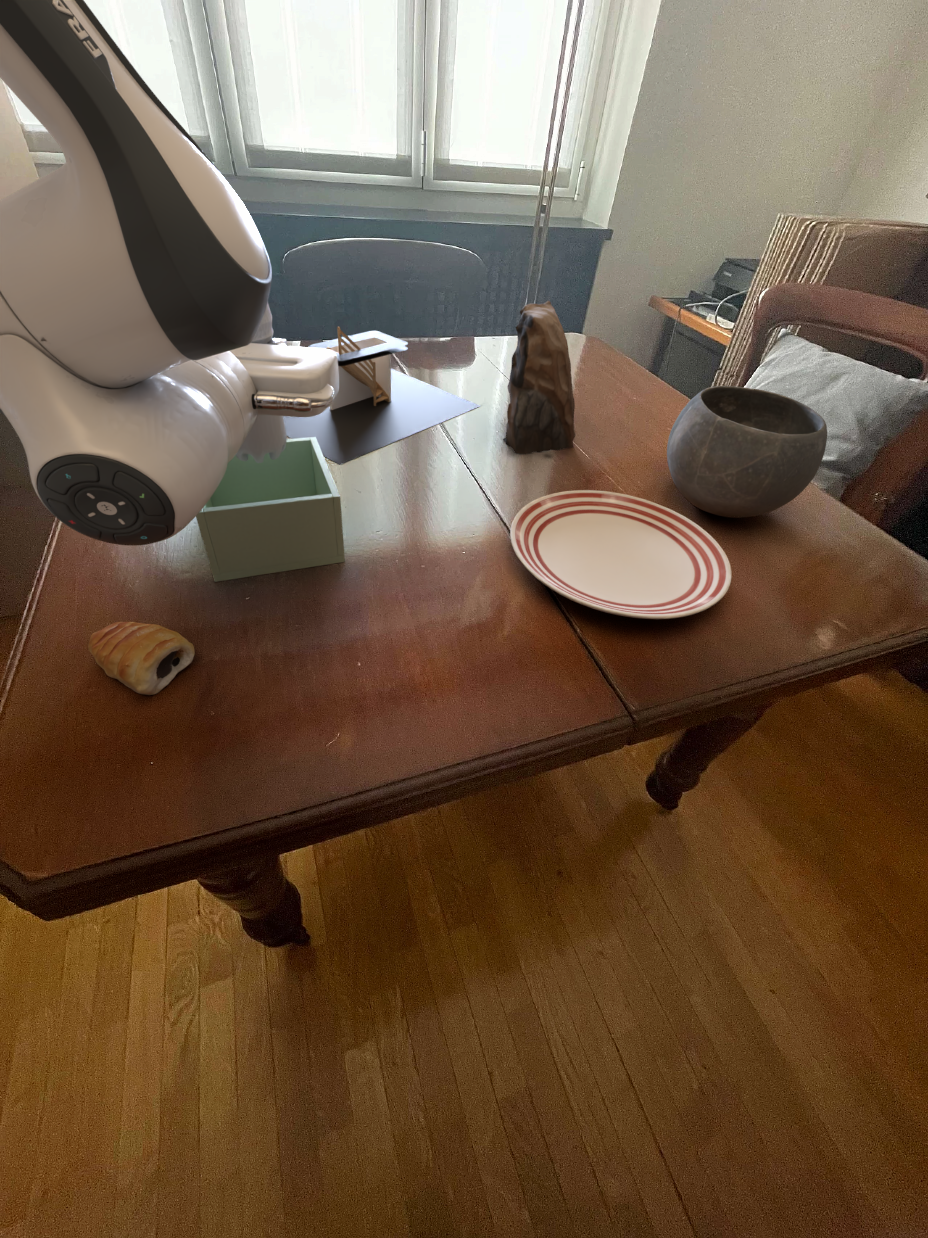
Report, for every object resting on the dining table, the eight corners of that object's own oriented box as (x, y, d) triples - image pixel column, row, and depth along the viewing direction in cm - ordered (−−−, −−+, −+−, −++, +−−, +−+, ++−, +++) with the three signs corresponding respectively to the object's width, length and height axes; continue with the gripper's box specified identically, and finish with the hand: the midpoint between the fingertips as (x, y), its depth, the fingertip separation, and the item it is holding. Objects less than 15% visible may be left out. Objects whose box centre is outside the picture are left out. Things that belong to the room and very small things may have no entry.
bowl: (774, 486, 90) (824, 395, 80) (795, 555, 76) (859, 455, 65) (651, 460, 93) (684, 369, 83) (648, 522, 78) (687, 421, 68)
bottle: (226, 441, 61) (178, 223, 47) (288, 438, 63) (259, 227, 49) (226, 470, 57) (173, 238, 43) (293, 466, 58) (262, 242, 45)
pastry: (73, 665, 51) (56, 636, 48) (133, 622, 55) (121, 594, 53) (151, 704, 48) (137, 676, 46) (207, 655, 53) (197, 627, 50)
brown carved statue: (512, 457, 89) (534, 323, 75) (478, 424, 97) (492, 298, 83) (576, 448, 94) (607, 320, 80) (538, 417, 102) (560, 296, 88)
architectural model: (339, 464, 82) (332, 366, 72) (229, 404, 94) (210, 312, 84) (481, 405, 103) (490, 323, 94) (376, 362, 115) (375, 285, 105)
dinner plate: (475, 517, 75) (478, 496, 73) (640, 496, 84) (647, 476, 81) (571, 660, 57) (578, 638, 55) (768, 614, 66) (782, 593, 63)
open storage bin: (214, 582, 61) (194, 513, 55) (207, 512, 70) (189, 446, 64) (345, 561, 65) (340, 496, 59) (321, 498, 75) (315, 436, 69)
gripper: (326, 368, 42) (347, 317, 52) (41, 346, 40) (121, 297, 50) (332, 446, 46) (351, 384, 56) (76, 429, 44) (143, 369, 54)
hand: (241, 343), depth 53 cm, fingers closed on bottle, 6 cm apart
